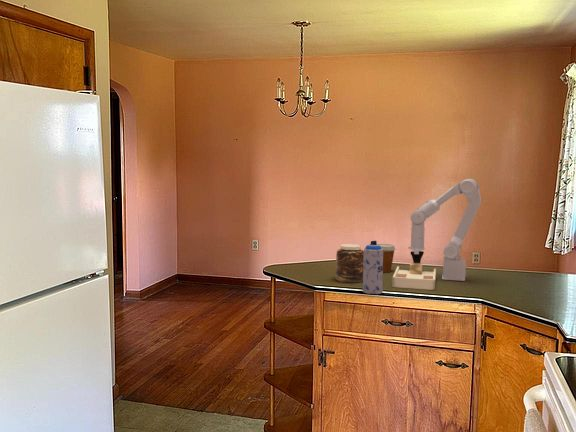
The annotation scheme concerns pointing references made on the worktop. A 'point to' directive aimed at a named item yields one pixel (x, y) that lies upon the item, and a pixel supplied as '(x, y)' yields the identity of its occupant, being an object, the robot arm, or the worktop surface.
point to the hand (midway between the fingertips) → (416, 267)
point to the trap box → (414, 279)
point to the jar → (349, 263)
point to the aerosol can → (373, 269)
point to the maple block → (416, 268)
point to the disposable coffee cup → (387, 256)
